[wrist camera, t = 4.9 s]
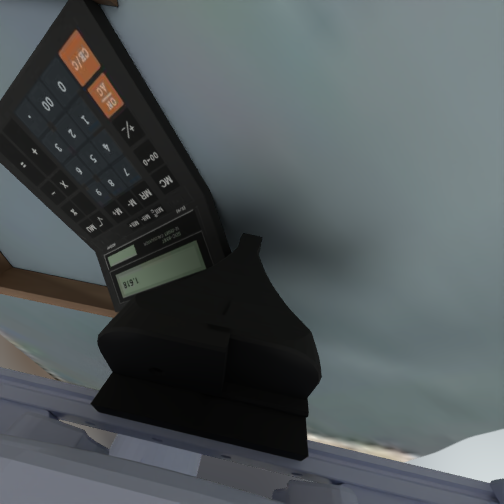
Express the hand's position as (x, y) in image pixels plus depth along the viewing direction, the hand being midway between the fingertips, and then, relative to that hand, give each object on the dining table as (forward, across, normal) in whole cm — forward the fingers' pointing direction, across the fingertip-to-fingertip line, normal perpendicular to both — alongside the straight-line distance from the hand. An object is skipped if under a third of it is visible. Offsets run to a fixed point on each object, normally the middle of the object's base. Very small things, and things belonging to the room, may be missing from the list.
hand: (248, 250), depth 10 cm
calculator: (+1, +8, -1) cm, 8 cm away
